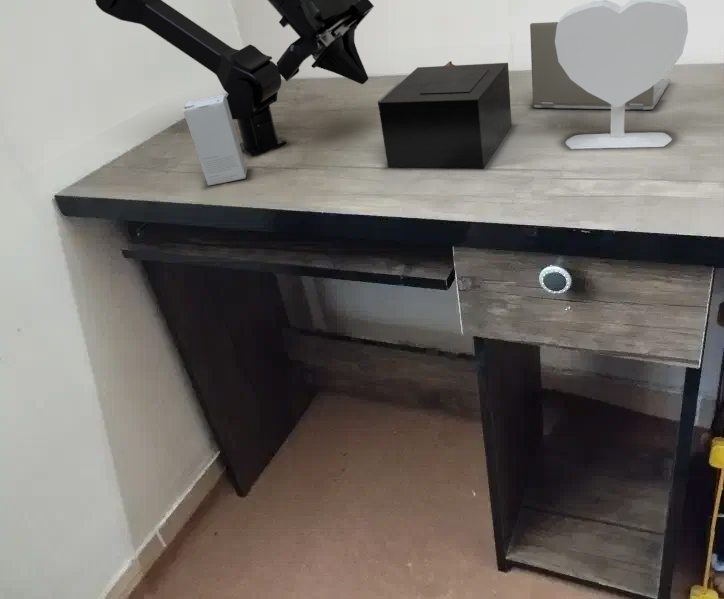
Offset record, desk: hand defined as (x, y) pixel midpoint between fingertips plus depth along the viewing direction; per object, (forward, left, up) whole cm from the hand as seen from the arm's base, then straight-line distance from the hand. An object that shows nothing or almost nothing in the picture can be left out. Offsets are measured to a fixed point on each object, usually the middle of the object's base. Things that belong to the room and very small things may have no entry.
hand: (365, 81), depth 106 cm
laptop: (+14, +34, -10) cm, 38 cm away
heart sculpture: (+28, +21, -10) cm, 37 cm away
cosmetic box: (-10, -21, -10) cm, 26 cm away
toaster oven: (+10, +7, -10) cm, 16 cm away
